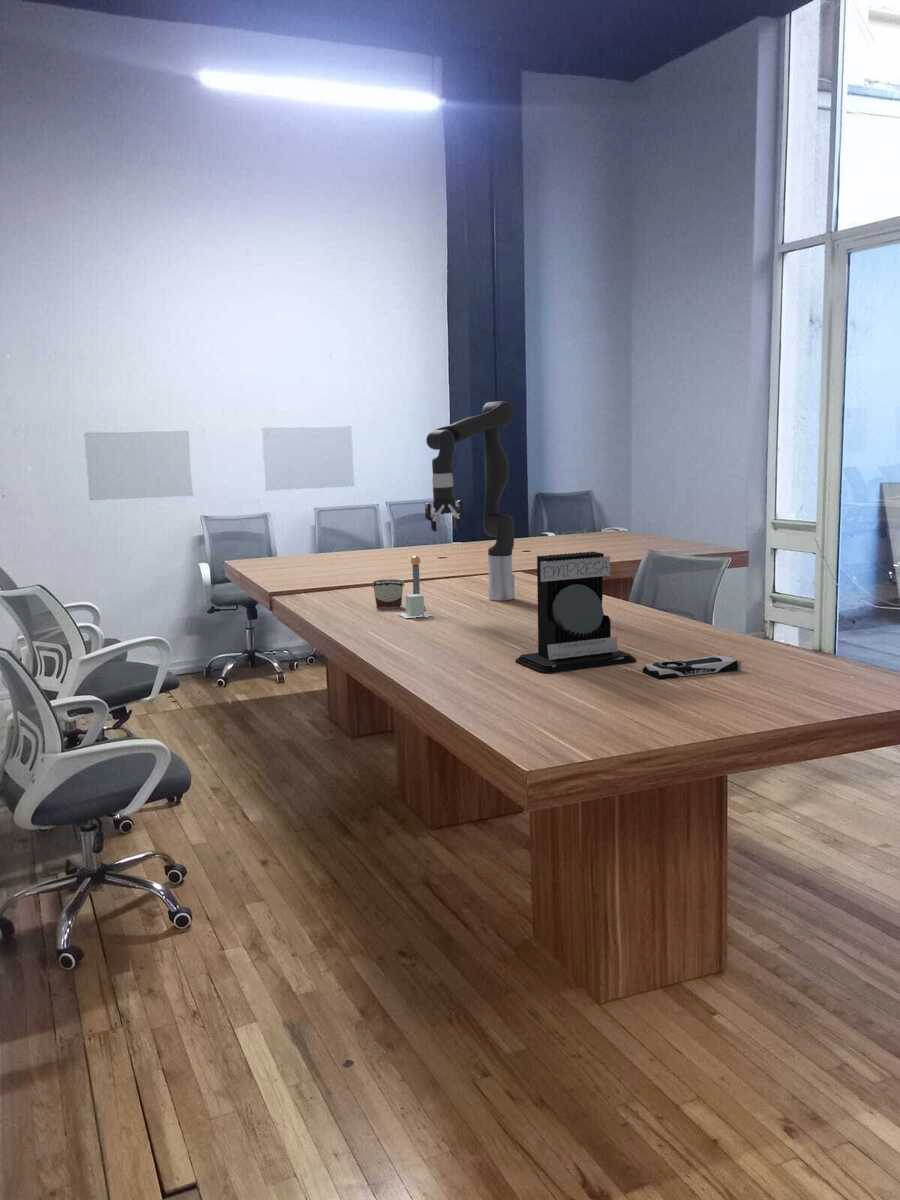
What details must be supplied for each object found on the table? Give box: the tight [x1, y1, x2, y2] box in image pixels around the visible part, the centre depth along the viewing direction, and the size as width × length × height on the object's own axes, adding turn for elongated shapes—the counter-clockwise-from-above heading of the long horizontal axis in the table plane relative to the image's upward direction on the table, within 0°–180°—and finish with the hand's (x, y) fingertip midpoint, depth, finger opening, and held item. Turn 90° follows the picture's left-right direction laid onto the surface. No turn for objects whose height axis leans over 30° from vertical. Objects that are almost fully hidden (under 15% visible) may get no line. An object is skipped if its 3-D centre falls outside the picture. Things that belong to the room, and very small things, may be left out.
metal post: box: [410, 555, 426, 610], centre depth 373 cm, size 6×6×20 cm
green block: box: [405, 593, 425, 616], centre depth 362 cm, size 5×5×7 cm
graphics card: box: [642, 653, 743, 681], centre depth 269 cm, size 10×3×25 cm
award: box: [514, 551, 637, 674], centre depth 282 cm, size 30×19×30 cm, turn 114°
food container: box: [371, 578, 406, 608], centre depth 383 cm, size 12×6×10 cm, turn 84°
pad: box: [397, 611, 434, 619], centre depth 362 cm, size 10×10×1 cm
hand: (445, 530), depth 370 cm, fingers open, 8 cm apart
